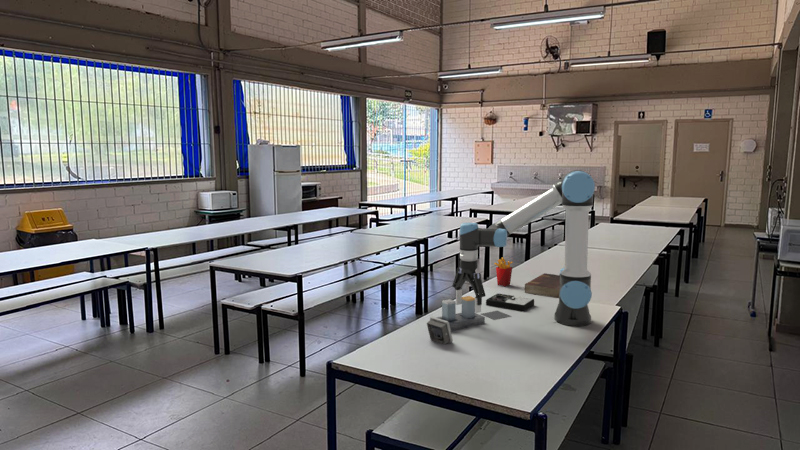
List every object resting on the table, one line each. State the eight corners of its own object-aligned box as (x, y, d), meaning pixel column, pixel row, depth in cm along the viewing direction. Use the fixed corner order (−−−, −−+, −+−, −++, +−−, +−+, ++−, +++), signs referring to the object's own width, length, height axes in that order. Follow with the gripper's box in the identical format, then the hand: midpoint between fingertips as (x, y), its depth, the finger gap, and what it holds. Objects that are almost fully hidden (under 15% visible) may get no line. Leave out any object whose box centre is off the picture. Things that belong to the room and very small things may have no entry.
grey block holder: (484, 323, 227) (484, 298, 226) (445, 331, 218) (445, 305, 216) (470, 317, 236) (470, 293, 234) (432, 325, 226) (432, 299, 225)
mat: (512, 317, 236) (512, 316, 236) (494, 320, 231) (494, 319, 231) (497, 311, 245) (497, 310, 245) (479, 314, 240) (479, 313, 240)
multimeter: (496, 300, 264) (497, 290, 264) (534, 306, 253) (534, 296, 253) (485, 306, 253) (485, 296, 253) (524, 313, 243) (524, 302, 242)
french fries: (512, 284, 292) (513, 257, 290) (504, 287, 286) (504, 260, 284) (498, 282, 298) (499, 255, 296) (490, 285, 292) (490, 258, 290)
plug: (474, 320, 228) (474, 298, 227) (467, 322, 226) (467, 299, 225) (469, 318, 232) (469, 295, 230) (461, 319, 230) (461, 297, 229)
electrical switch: (453, 342, 206) (451, 320, 204) (444, 347, 202) (442, 324, 200) (435, 336, 212) (433, 314, 210) (426, 341, 209) (424, 319, 207)
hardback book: (560, 299, 266) (561, 289, 265) (524, 293, 276) (524, 284, 275) (578, 286, 289) (578, 277, 288) (544, 281, 300) (544, 273, 299)
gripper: (444, 255, 234) (444, 302, 237) (479, 265, 213) (479, 317, 216) (458, 253, 238) (458, 300, 241) (494, 263, 216) (493, 314, 219)
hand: (468, 308), depth 228 cm, fingers open, 13 cm apart
